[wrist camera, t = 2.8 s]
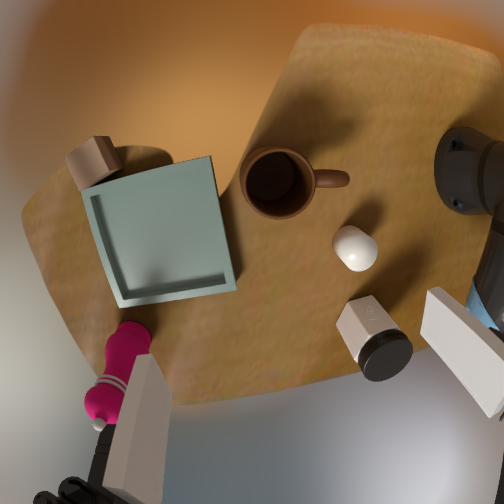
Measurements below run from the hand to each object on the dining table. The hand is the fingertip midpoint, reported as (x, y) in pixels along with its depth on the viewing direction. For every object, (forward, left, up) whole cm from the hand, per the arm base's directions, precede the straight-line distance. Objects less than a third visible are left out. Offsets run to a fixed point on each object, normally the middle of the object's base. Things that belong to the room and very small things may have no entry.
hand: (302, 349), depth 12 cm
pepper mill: (+23, +17, -28) cm, 40 cm away
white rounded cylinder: (-13, +7, -28) cm, 31 cm away
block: (+19, -11, -28) cm, 36 cm away
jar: (-15, +21, -28) cm, 38 cm away
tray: (+13, +1, -28) cm, 31 cm away
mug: (-5, -4, -28) cm, 29 cm away
